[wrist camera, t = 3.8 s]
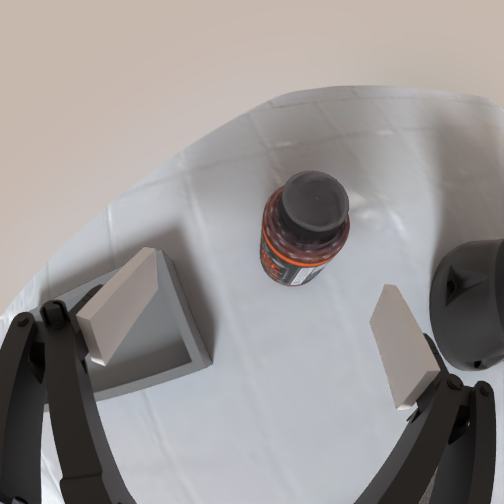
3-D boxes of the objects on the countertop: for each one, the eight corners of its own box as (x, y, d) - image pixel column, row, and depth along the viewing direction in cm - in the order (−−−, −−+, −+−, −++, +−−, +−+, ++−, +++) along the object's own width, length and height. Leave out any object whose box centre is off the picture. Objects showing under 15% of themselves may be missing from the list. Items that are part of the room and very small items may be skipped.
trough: (172, 260, 25) (156, 243, 21) (212, 364, 22) (203, 369, 18) (36, 321, 23) (9, 316, 19) (61, 408, 20) (34, 414, 16)
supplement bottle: (247, 245, 26) (244, 177, 15) (300, 218, 27) (326, 143, 16) (279, 300, 24) (300, 266, 14) (333, 268, 25) (383, 217, 14)
